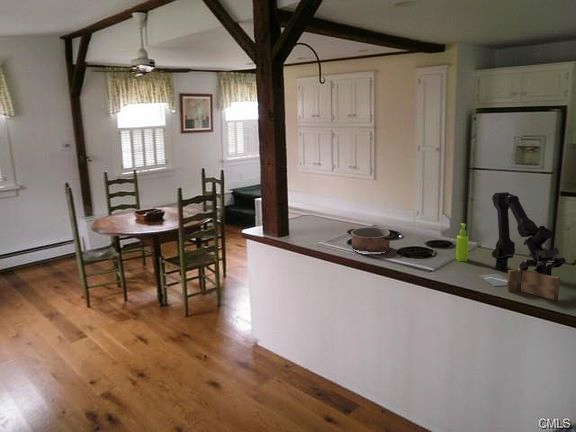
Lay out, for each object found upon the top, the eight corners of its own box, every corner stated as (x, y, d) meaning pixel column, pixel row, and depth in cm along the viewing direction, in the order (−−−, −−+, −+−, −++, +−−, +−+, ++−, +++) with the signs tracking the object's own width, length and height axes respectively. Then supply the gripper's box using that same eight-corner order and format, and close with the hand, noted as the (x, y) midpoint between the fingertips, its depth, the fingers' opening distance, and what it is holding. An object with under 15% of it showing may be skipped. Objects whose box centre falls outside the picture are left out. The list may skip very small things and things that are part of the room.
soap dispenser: (463, 256, 253) (465, 222, 248) (469, 261, 246) (471, 225, 241) (453, 257, 253) (455, 222, 248) (458, 261, 246) (460, 226, 241)
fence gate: (520, 291, 205) (522, 269, 202) (522, 290, 206) (524, 268, 203) (557, 301, 194) (559, 278, 191) (558, 299, 195) (561, 277, 192)
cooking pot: (401, 248, 273) (402, 231, 270) (385, 258, 256) (385, 240, 253) (357, 241, 291) (357, 224, 288) (339, 250, 273) (339, 233, 271)
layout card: (478, 275, 225) (478, 275, 225) (497, 274, 226) (497, 273, 226) (494, 286, 212) (494, 285, 211) (514, 285, 213) (514, 284, 212)
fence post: (508, 292, 205) (510, 270, 202) (506, 290, 207) (507, 268, 204) (521, 291, 206) (523, 269, 203) (519, 289, 207) (521, 267, 205)
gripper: (525, 242, 196) (539, 276, 189) (566, 239, 198) (581, 272, 191) (513, 254, 206) (526, 286, 198) (551, 250, 208) (566, 282, 200)
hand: (550, 281), depth 197 cm, fingers closed
